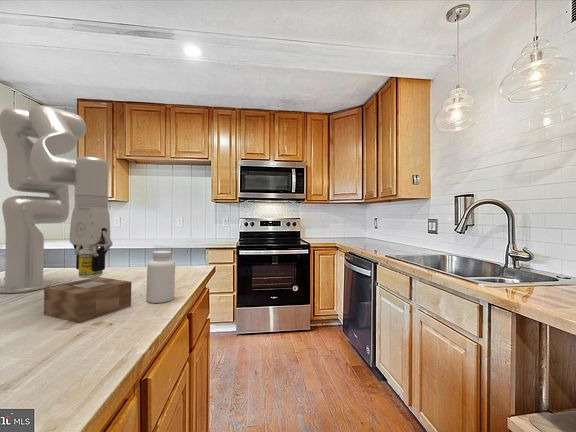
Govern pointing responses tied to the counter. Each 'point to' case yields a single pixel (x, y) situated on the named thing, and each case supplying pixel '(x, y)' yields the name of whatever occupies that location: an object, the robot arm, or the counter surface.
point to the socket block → (86, 299)
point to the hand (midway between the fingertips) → (90, 268)
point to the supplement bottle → (87, 263)
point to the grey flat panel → (89, 284)
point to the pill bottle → (160, 278)
